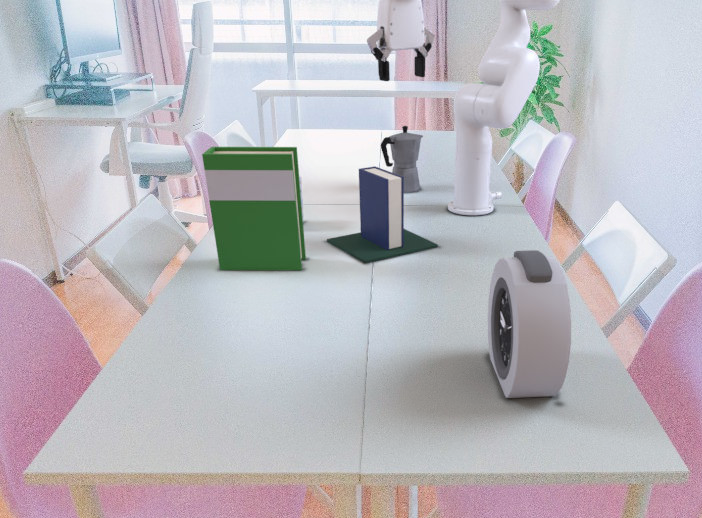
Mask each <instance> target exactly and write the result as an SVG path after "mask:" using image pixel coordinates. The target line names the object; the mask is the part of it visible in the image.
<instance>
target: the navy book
mask: <svg viewBox="0 0 702 518" xmlns="http://www.w3.org/2000/svg"><path fill="white" fill-rule="evenodd" d="M358 187H359V189H358V190H359V191H358V192H359V219H360V222H359V223H360V232H361V237H363V238H365V239H367V240H369V241H370V242H372V243H374V244H376V245H378V246H380V247H382V248H384V249H386V250H389V249H392V248H396V247H404V229H405V228H404V224H405V223H404V222H405V221H404V219H405V216H404V215H405V212H404V211H405V209H404V206H405V205H404V204H405V203H404V200H405V199H404V198H405V197H404V195H405V193H404V177H403V176H400V175H397V174H394V173H392V171H389V170H386V169H383V168H381V167H378V166H369V167H362V168H358Z"/></svg>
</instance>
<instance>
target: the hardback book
mask: <svg viewBox="0 0 702 518" xmlns="http://www.w3.org/2000/svg"><path fill="white" fill-rule="evenodd" d="M201 156H202V162H203V169H204V175H205V181H206V189H207V195H208V201H209V208H210V214H211V221H212V226H213V235H214V240H215V246H216V253H217V260H218V266H219V270H220V271H302V270H303V263H302V261H306V260H307V254H306V242H305V231H304V222H303V217H304V215H303V216H302V204H301V192H300V180H299V177H300V169H299V157H298V147H297V146H210V147H209V148H208V149H207V150H205V151H204V152H203V153H202V154H201Z"/></svg>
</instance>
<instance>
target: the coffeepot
mask: <svg viewBox="0 0 702 518" xmlns="http://www.w3.org/2000/svg"><path fill="white" fill-rule="evenodd" d="M401 128H402V132H399V133H396V134H392V135H390V136H389V135H388V136H386V137H383V139H382V141H381V143H380V149H381V152H382V156H383V159H384V163H385V166H386V167H387V168H390V167H392V170H391V172H392V173H394V174H397V175H400V176H403V177H404V194H408V193H415V192H418V191H419V190H420V189H421V184H420V178H419V170H418V166H417V161H419V154H420V147H421V143H422V138H424V135H422V134H418V133H412V132H408V129H409V126H407V125H403V126H402V127H401ZM387 145H390V150H391V152H390V153H391V158H392V161H393V162H390V155H389V153H388V147H387Z"/></svg>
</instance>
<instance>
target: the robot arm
mask: <svg viewBox="0 0 702 518" xmlns="http://www.w3.org/2000/svg"><path fill="white" fill-rule="evenodd" d="M378 1H379V2H378V8H377V9H378V10H377V19H376V31H375V32H374V33H372V35H370V36H368V37H367V38H366V43H367V45H368V47H369V49H370V53H371V55H373V56H374V57H375V60H376V61H377V69H378V70H377V72H378V77H379V78H378V79H379V81H383V82H389V81H390V79H391V78H390V77H391V76H390V75H391V74H390V62H389V60H388V59H389V56H390V54H391V53H392V51H394V52H395V51H408V50H413V52H414V53H415V55H416V56H414V59H413V60H414V76H415V77H417V78H418V77H419V78H425V77H426V58H427V57H428V55H429V52H430V51H431V49H432V47H433V43H434V40H435V38H436V37H435V36H436V35H435V33H433V32H432V31H431V30H429V29H428V28H426V27H425V18H424V17H425V16H424V9H423V3H422V2H423V1H422V0H378ZM560 1H561V0H498V3H499V10H500V12H499V13H500V21H499V26H498V28H497V30H496V32H495V34H494V37H493V38H492V40H491V42H490V44H489V46H487V49H486V51H485V53H484V54H483V56H482V58H481V60H480V63H479V65H478V69H477V75H478V79H479V80H480V81H481V82H482V83H478V82H477V83H476V82H470V83H466V84H463V85H462V86H460V88H458V90H457V91H456V93H455V94H454V98H453V114H454V122H455V158H454V159H455V160H454V182H453V183H454V184H453V200H452V201H450V202H449V203H448V204H447V210H448V211H450V213H453V214H457V215H463V216H482V215H483V216H484V215H487V214H490V213H492V212H493V211H494V207H495V206H494V204H493V203H492V202H493V201H494V200H499V199H502V197H503V194H502V192H501V191H495V192H493V191H491V190H490V185H491V184H490V183H491V182H490V181H491V169H492V168H491V167H492V152H493V137H492V134H491V131H490V128H494V129H501V130H503V129H508V128H509V127H511V126H512V125H513V124H514V123H515V121H516V120H517V119H518V117H519V115H520V113H521V112H522V110H523V108H524V106H526V105H525V104H526V103H527V101H528V99H529V98H530V96H531V93H532V92H533V90H534V89H535V87H536V84H537V82H538V79H539V76H540V70H541V62H540V58H539V56H538V54H537V52H535V51H534V49H531V48H529V47H528V44H529V42H530V39H531V26H530V23H529V20H528V16H527V12H526V11H548V10H552V9H554V8H555V7H556V6H557V5H559V3H560Z"/></svg>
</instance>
